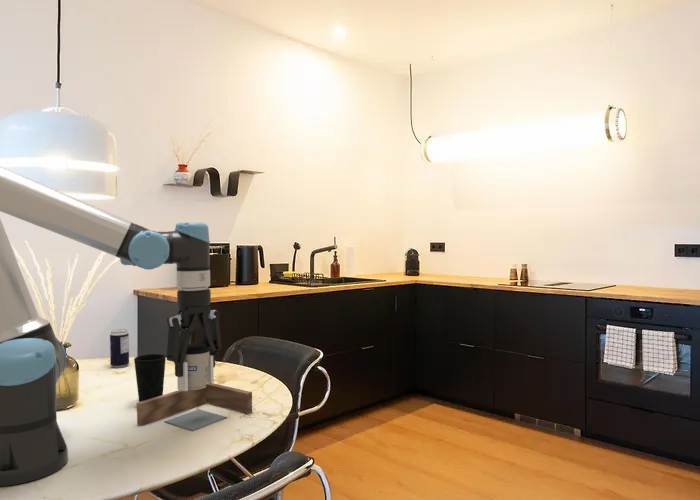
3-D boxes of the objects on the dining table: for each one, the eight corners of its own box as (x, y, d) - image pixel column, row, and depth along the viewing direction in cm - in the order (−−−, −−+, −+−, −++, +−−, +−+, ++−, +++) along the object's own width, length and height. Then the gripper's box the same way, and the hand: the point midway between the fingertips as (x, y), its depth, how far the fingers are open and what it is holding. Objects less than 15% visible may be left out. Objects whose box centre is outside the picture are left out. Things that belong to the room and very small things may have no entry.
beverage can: (126, 363, 180) (125, 328, 180) (131, 366, 176) (130, 330, 175) (108, 366, 176) (107, 330, 176) (113, 369, 172) (112, 332, 172)
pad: (192, 431, 118) (192, 429, 118) (164, 422, 123) (164, 421, 123) (226, 418, 126) (226, 416, 126) (198, 410, 132) (198, 409, 132)
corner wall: (183, 439, 113) (183, 416, 113) (137, 424, 122) (136, 402, 122) (252, 412, 130) (252, 392, 130) (206, 400, 139) (206, 381, 139)
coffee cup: (200, 381, 129) (199, 340, 129) (217, 386, 125) (216, 344, 124) (174, 387, 124) (173, 345, 124) (191, 393, 120) (190, 349, 119)
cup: (155, 408, 133) (155, 361, 133) (128, 406, 135) (127, 360, 134) (172, 399, 141) (171, 354, 140) (146, 397, 142) (145, 353, 142)
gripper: (168, 293, 113) (170, 399, 114) (236, 285, 130) (238, 378, 131) (146, 292, 118) (149, 394, 118) (215, 284, 134) (217, 373, 135)
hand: (196, 385), depth 125 cm, fingers closed on coffee cup, 7 cm apart
